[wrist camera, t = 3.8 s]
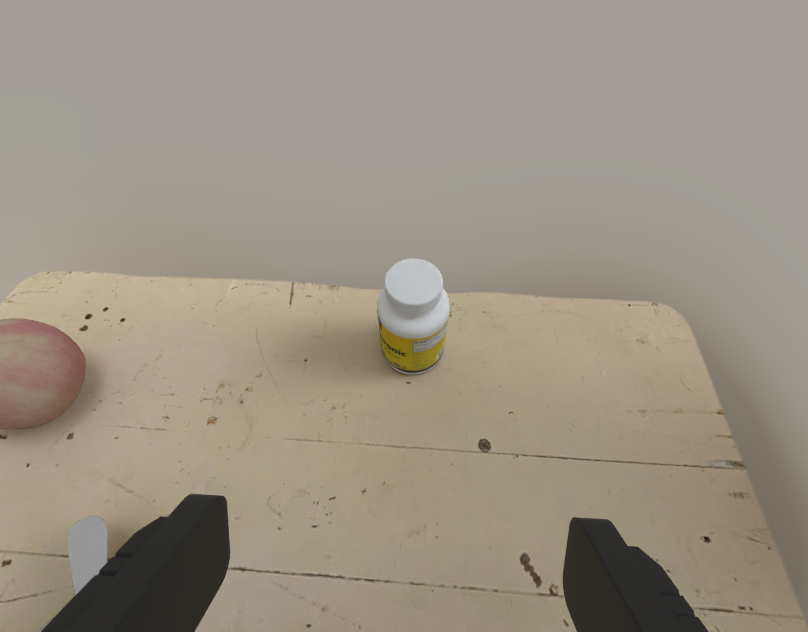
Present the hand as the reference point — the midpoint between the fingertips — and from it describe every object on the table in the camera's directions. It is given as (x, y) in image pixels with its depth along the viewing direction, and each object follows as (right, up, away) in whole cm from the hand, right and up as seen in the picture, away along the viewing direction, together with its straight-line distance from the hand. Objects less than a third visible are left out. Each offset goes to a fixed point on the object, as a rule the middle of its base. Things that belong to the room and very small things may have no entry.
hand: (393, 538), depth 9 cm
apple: (-28, -2, +24) cm, 37 cm away
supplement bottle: (+1, +2, +26) cm, 26 cm away
